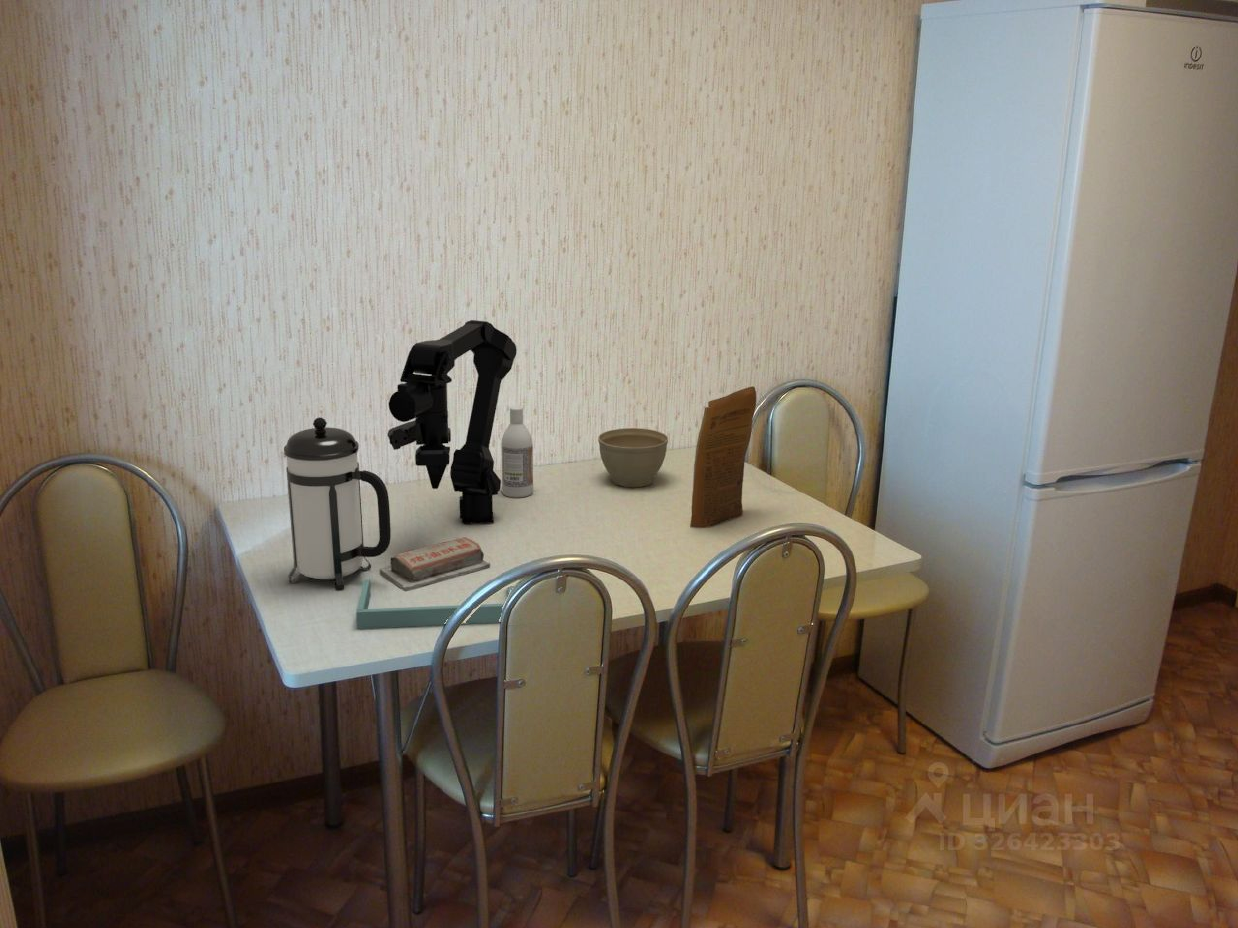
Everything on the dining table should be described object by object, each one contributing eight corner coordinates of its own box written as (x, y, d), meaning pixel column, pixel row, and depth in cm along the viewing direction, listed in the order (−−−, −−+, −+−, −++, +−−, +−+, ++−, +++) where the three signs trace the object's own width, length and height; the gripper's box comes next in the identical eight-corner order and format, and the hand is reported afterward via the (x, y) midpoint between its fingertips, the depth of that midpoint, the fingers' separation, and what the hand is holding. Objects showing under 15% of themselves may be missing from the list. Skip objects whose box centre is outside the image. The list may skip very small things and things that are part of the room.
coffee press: (295, 599, 189) (281, 434, 180) (283, 566, 203) (270, 411, 194) (394, 584, 196) (386, 424, 187) (376, 553, 210) (367, 403, 201)
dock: (512, 589, 195) (512, 573, 194) (515, 621, 182) (515, 605, 181) (364, 595, 192) (363, 579, 191) (357, 628, 179) (356, 612, 178)
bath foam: (535, 497, 243) (534, 410, 237) (504, 499, 241) (502, 412, 235) (530, 487, 249) (529, 403, 243) (500, 489, 248) (498, 404, 242)
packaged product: (461, 530, 210) (490, 545, 203) (462, 554, 212) (490, 569, 204) (377, 552, 199) (404, 568, 192) (378, 576, 201) (405, 594, 193)
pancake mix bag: (760, 513, 235) (768, 387, 227) (701, 534, 222) (706, 401, 214) (737, 505, 240) (743, 381, 231) (677, 525, 227) (681, 395, 219)
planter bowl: (589, 474, 260) (590, 430, 256) (653, 469, 264) (654, 425, 261) (609, 495, 245) (609, 449, 242) (676, 489, 250) (677, 444, 246)
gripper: (392, 398, 214) (396, 473, 219) (385, 423, 197) (389, 504, 201) (449, 397, 216) (452, 472, 221) (447, 421, 198) (450, 502, 203)
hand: (435, 487), depth 211 cm, fingers closed
